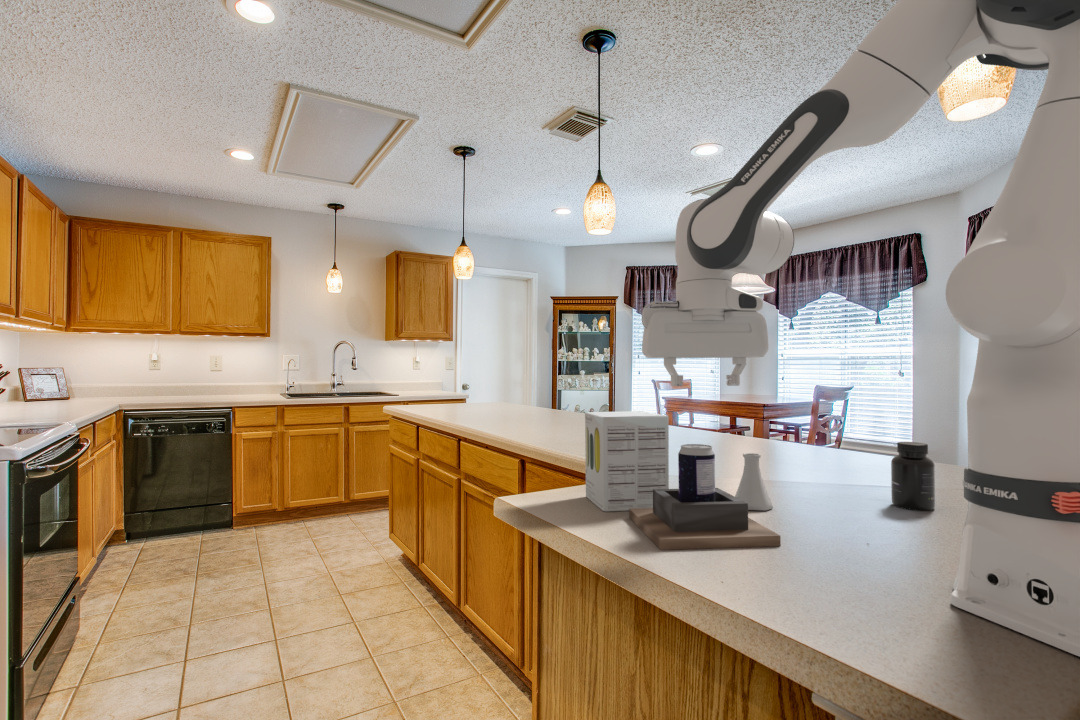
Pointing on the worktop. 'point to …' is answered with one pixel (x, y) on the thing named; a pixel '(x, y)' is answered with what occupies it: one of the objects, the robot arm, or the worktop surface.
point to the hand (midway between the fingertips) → (705, 386)
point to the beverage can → (696, 473)
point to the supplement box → (625, 458)
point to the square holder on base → (701, 523)
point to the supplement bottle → (913, 477)
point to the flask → (753, 485)
